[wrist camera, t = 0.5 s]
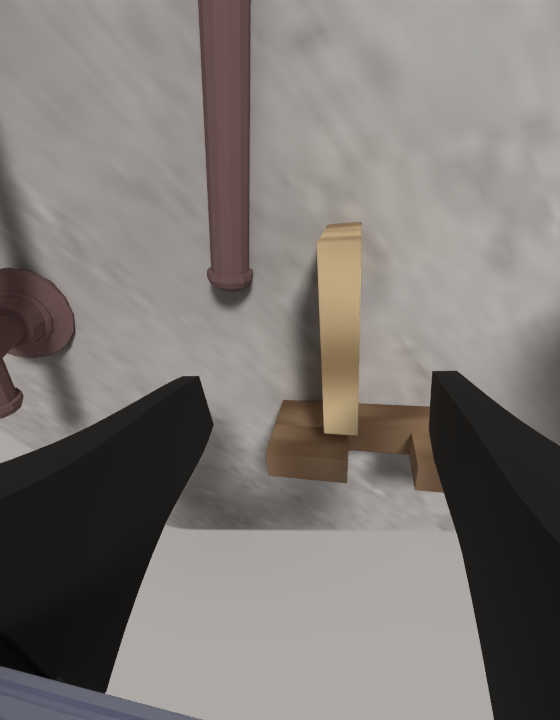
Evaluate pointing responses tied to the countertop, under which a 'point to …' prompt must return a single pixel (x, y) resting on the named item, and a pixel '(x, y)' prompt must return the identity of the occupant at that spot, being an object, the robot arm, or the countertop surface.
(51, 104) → the countertop surface
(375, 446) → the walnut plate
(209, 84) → the toilet paper hanger
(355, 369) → the light wooden block
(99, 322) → the countertop surface
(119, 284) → the countertop surface
